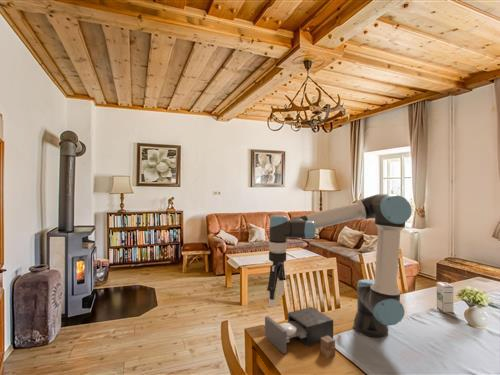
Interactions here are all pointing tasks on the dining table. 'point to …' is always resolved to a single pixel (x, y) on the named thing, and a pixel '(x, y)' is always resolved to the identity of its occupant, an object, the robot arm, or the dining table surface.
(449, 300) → the syrup box
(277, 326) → the grey drawer
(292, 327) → the disc
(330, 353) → the pedestal
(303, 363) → the dining table surface
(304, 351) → the dining table surface
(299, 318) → the housing
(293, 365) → the dining table surface
